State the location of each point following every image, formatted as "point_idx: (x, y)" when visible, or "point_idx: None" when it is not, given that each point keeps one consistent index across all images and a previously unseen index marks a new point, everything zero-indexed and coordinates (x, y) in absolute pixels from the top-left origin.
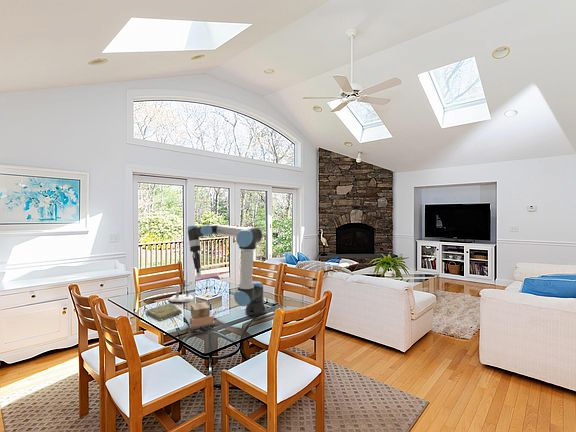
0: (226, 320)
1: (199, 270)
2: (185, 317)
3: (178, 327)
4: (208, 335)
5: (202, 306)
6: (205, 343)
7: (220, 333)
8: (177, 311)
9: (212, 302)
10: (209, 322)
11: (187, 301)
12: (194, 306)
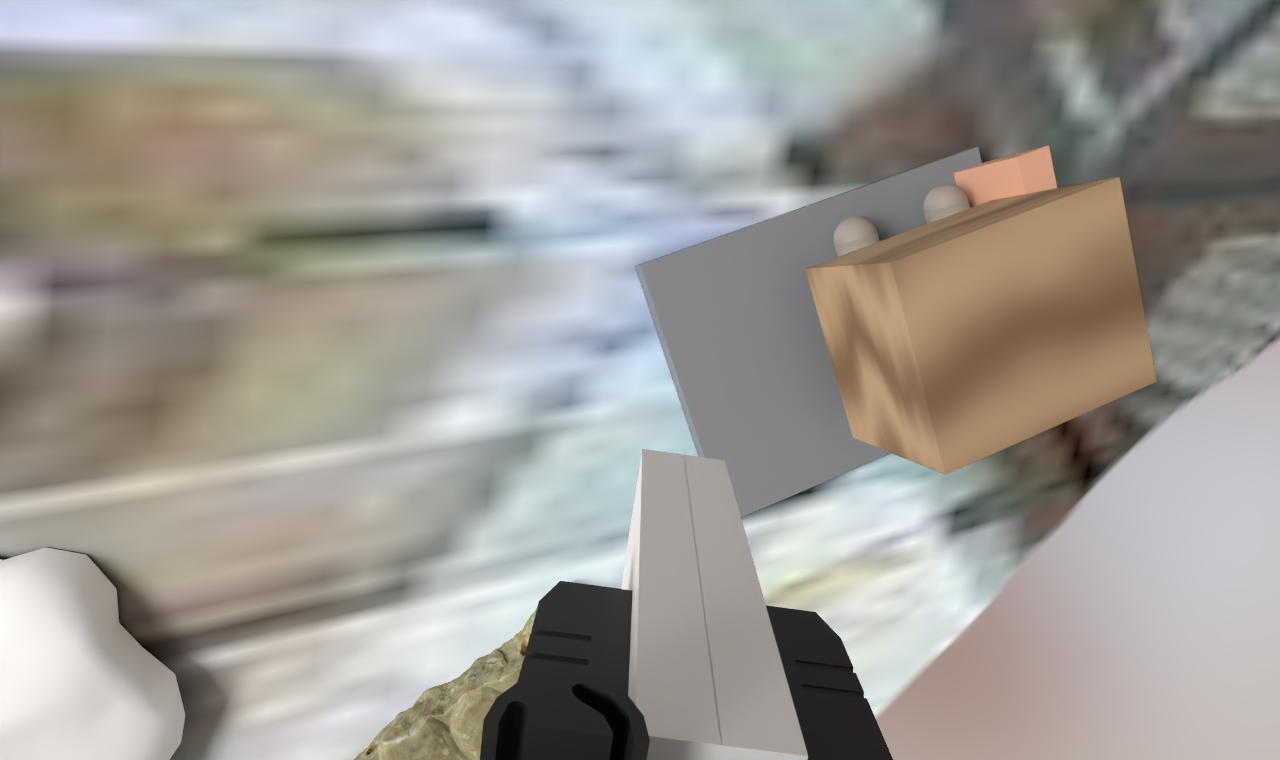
0: (876, 15)
1: (767, 650)
2: (780, 499)
3: (940, 518)
4: (1151, 208)
5: (1061, 286)
6: (1266, 224)
7: (1142, 93)
8: None
9: (180, 213)
10: None
11: (117, 614)
12: (1034, 403)
